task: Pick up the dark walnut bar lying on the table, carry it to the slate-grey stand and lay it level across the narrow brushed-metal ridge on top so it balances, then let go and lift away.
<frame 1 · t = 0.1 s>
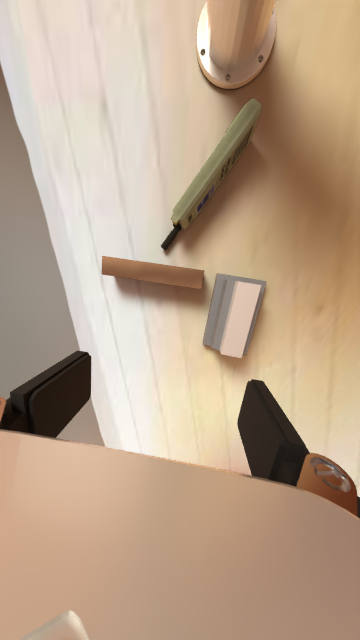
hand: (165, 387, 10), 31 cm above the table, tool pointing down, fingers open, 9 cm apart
walnut bar: (157, 273, 39), on the table
handheld radio: (201, 197, 35), on the table
ridge stand: (231, 313, 40), on the table
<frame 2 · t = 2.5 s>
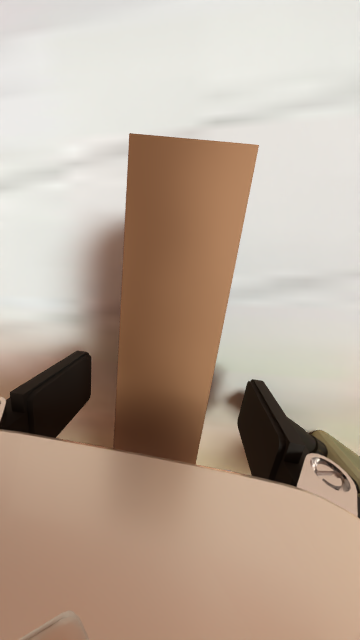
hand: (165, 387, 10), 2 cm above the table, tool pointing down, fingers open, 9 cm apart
walnut bar: (173, 369, 12), on the table
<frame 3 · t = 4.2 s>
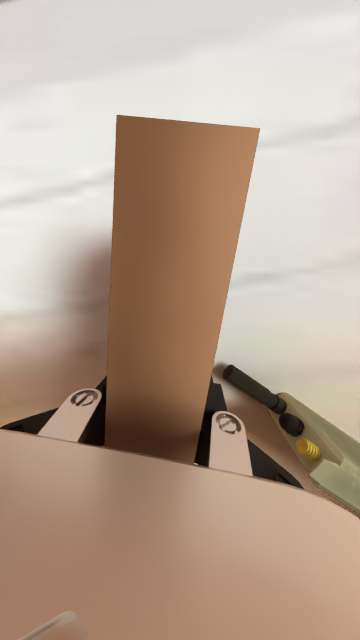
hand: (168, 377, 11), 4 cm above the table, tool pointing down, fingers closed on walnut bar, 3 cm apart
walnut bar: (169, 372, 12), point 3 cm above the table, touching gripper
handheld radio: (327, 433, 17), on the table
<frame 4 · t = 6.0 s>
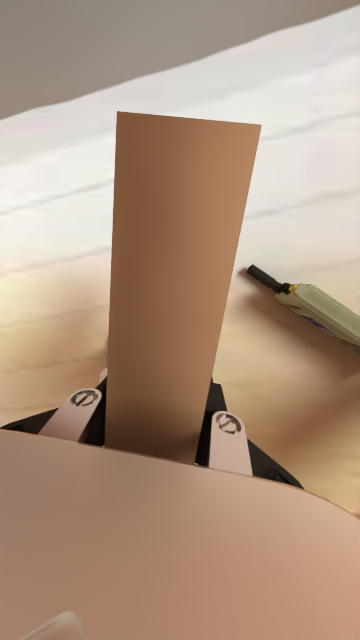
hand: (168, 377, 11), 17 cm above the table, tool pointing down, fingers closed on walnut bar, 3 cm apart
walnut bar: (169, 371, 12), point 17 cm above the table, touching gripper
handheld radio: (313, 313, 27), on the table
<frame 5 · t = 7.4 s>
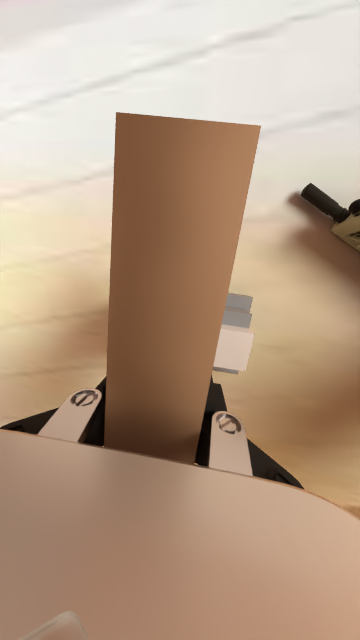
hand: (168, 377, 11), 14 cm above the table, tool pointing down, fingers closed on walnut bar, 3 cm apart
walnut bar: (169, 371, 12), point 14 cm above the table, touching gripper
ridge stand: (184, 322, 25), on the table
when the fingers open (10 cm above the table, at t = 8.6 s): walnut bar stays where it is, resting on ridge stand.
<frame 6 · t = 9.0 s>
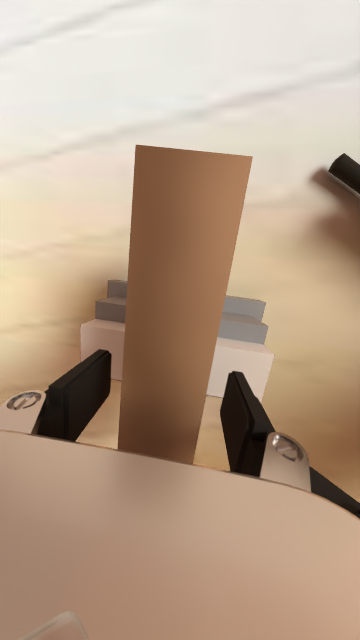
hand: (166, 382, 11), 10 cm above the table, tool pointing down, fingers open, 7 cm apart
walnut bar: (173, 364, 13), point 8 cm above the table, touching ridge stand
ridge stand: (180, 332, 21), on the table
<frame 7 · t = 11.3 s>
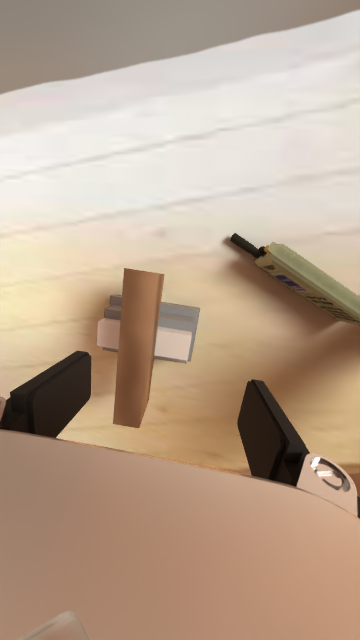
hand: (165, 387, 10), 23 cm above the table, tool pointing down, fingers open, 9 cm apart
walnut bar: (144, 341, 26), point 8 cm above the table, touching ridge stand
handheld radio: (288, 277, 31), on the table
ridge stand: (153, 326, 34), on the table
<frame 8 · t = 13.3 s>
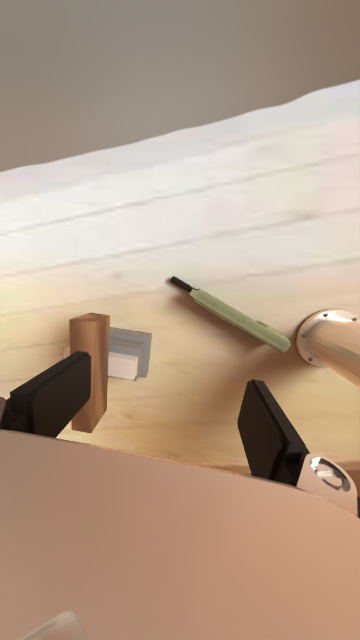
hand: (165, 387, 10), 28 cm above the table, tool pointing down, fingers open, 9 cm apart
walnut bar: (99, 364, 34), point 8 cm above the table, touching ridge stand
handheld radio: (223, 308, 38), on the table
ridge stand: (116, 348, 41), on the table
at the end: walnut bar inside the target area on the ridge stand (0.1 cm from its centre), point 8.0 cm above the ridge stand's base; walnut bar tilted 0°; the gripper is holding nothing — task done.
